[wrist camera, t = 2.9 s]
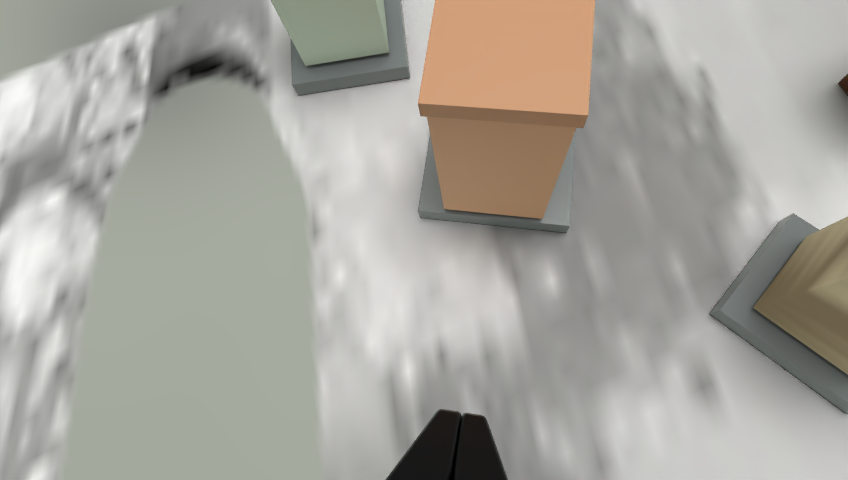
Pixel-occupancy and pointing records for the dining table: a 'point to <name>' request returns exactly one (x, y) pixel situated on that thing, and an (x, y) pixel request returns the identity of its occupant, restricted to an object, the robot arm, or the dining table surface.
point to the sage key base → (357, 62)
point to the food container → (844, 84)
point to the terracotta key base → (552, 220)
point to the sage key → (334, 28)
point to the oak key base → (765, 333)
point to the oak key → (814, 294)
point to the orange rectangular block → (505, 99)
